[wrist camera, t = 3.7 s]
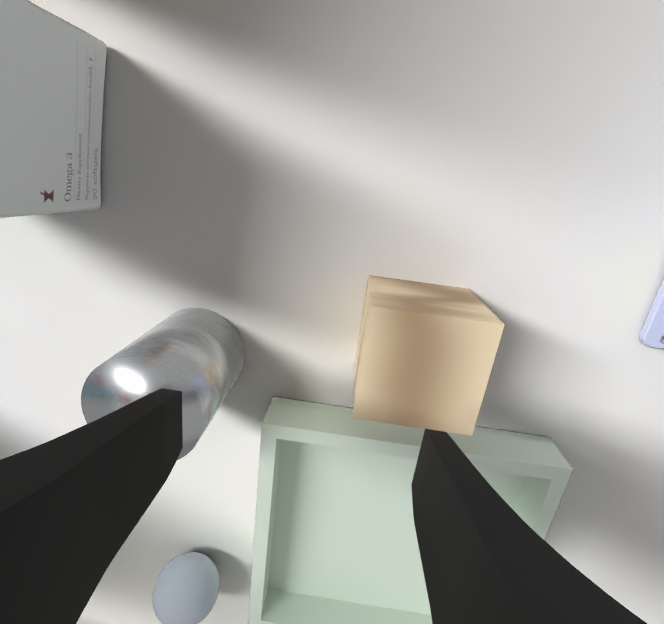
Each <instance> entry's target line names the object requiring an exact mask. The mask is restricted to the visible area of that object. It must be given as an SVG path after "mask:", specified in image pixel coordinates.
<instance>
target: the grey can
mask: <svg viewBox="0 0 664 624" xmlns="http://www.w3.org/2000/svg"><path fill="white" fill-rule="evenodd" d="M244 364H245V347H244V344H243V341H242V338H241V336H240V334H239V333H238V331H237V330H236V329H235V327H234V326H233V325H232V324H231V323H230V322H229V321H228V320H226V319H225V318H224V317H222V316H221V315H219V314H217V313H215V312H212V311H209V310H206V309H200V308H189V309H184V310H181V311H178V312H176V313H174V314H172V315H171V316H169V317H168V318H167V319H165V320H164V321H162V322H161V323H160V324H158V325H157V326H155V327H154V328H152V329H151V330H150V331H148V332H147V333H145V334H144V335H142V336H141V337H140V338H138V339H137V340H135V341H134V342H132V343H131V344H130V345H128V346H127V347H125V348H124V349H123V350H121V351H120V352H118V353H117V354H115V355H114V356H113V357H111V358H110V359H108V360H107V361H105V362H104V363H103V364H101V365H100V366H98V367H97V368H96V369H94V370H93V371H92V372H91V373H90V375H89V376H88V378H87V379H86V381H85V383H84V386H83V389H82V395H81V405H82V411H83V414H84V417H85V420H86V422H87V424H89V423H91V422H93V421H95V420H97V419H99V418H101V417H103V416H105V415H108V414H110V413H112V412H114V411H116V410H118V409H120V408H122V407H124V406H126V405H128V404H130V403H132V402H134V401H136V400H138V399H140V398H142V397H144V396H146V395H148V394H150V393H152V392H154V391H157V390H159V389H161V388H164V389H171V390H177V391H182V429H183V448H182V450H181V452H180V455H179V457H178V459H180V458H182V457H184V456H185V455H186V454H188V453H189V452H190V451H191V450H192V449H193V448H194V447H195V445H196V443H197V442H198V440H199V439H200V437H201V436H202V434H203V432H204V431H205V429H206V428H207V426H208V424H209V423H210V421H211V420H212V418H213V416H214V415H215V413H216V412H217V410H218V409H219V407H220V405H221V404H222V402H223V401H224V399H225V397H226V396H227V394H228V393H229V391H230V389H231V388H232V386H233V385H234V383H235V382H236V380H237V378H238V377H239V375H240V374H241V372H242V370H243V367H244ZM178 459H177V460H178Z"/></svg>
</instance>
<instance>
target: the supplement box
mask: <svg viewBox="0 0 664 624" xmlns="http://www.w3.org/2000/svg"><path fill="white" fill-rule="evenodd" d="M106 54H107V46H106V44H105V43H104V42H102V41H101V40H99V39H97V38H96V37H94V36H92V35H90V34H89V33H87V32H85V31H83V30H82V29H80V28H78V27H76V26H74V25H72V24H70V23H69V22H67V21H65V20H63V19H61V18H59V17H57V16H55V15H54V14H52V13H50V12H48V11H46V10H44V9H42V8H40V7H39V6H37V5H35V4H33V3H31V2H30V1H28V0H0V218H4V217H15V216H27V215H40V214H50V213H61V212H72V211H84V210H97V209H100V207H101V186H100V173H101V135H102V115H103V94H104V80H105V67H106Z"/></svg>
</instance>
